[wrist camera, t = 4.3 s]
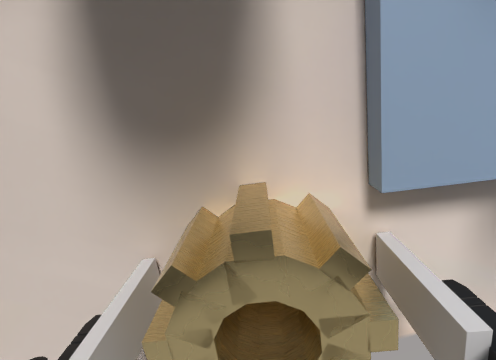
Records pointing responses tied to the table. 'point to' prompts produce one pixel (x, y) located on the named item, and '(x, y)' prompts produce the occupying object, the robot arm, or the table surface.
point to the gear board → (430, 92)
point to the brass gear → (268, 288)
